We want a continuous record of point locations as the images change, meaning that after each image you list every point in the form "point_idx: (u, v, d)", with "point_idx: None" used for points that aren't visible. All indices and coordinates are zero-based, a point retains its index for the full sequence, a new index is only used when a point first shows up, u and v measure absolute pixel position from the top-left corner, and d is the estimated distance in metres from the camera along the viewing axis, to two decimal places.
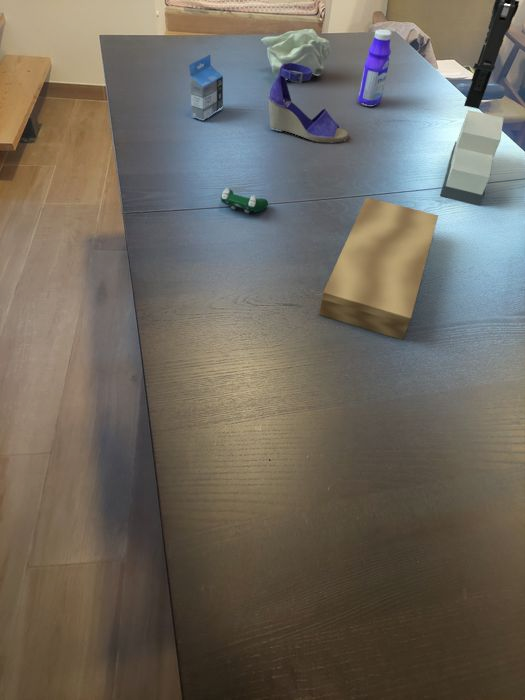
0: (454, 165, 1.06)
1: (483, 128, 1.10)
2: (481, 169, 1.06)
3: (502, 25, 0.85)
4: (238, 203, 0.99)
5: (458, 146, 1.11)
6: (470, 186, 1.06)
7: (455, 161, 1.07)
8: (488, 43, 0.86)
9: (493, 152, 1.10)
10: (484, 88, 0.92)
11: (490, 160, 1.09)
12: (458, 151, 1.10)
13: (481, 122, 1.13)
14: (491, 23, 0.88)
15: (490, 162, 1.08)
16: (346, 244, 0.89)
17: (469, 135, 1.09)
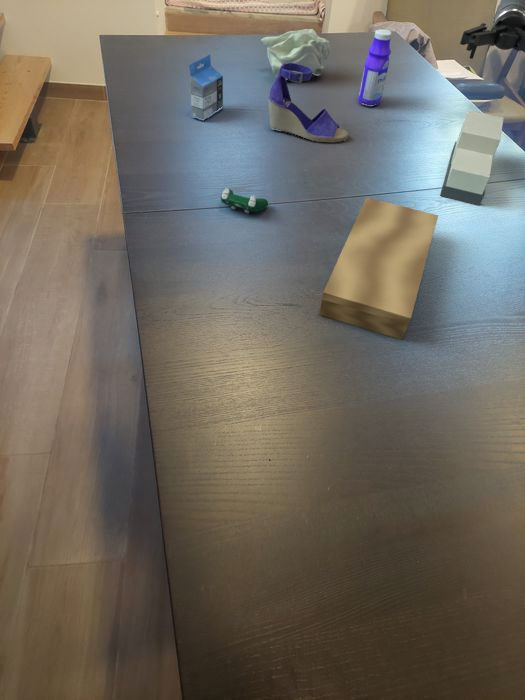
0: (454, 165, 1.06)
1: (483, 128, 1.10)
2: (481, 169, 1.06)
3: None
4: (238, 203, 0.99)
5: (458, 146, 1.11)
6: (470, 186, 1.06)
7: (455, 161, 1.07)
8: None
9: (493, 152, 1.10)
10: (474, 40, 1.13)
11: (490, 160, 1.08)
12: (458, 151, 1.10)
13: (481, 122, 1.13)
14: None
15: (490, 162, 1.08)
16: (346, 244, 0.89)
17: (469, 135, 1.09)
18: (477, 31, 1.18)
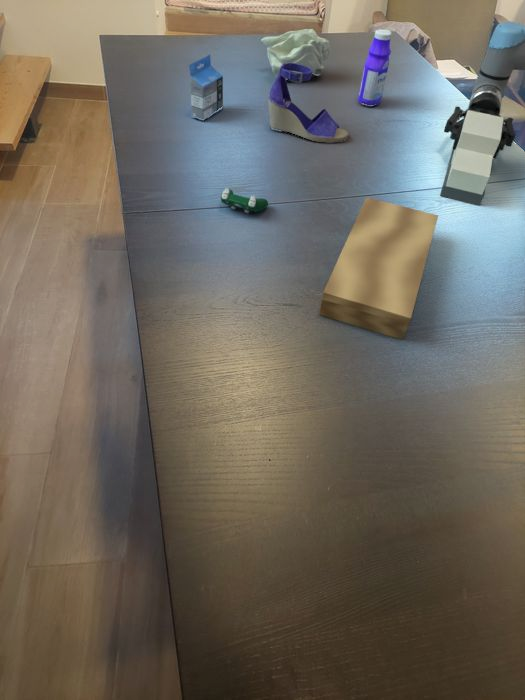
0: (454, 165, 1.06)
1: (483, 128, 1.10)
2: (481, 169, 1.06)
3: None
4: (238, 203, 0.99)
5: (458, 146, 1.11)
6: (470, 186, 1.06)
7: (455, 161, 1.07)
8: None
9: (493, 152, 1.10)
10: (457, 131, 1.14)
11: (490, 160, 1.09)
12: (458, 151, 1.10)
13: (481, 122, 1.13)
14: None
15: (490, 162, 1.08)
16: (346, 244, 0.89)
17: (469, 135, 1.09)
18: (456, 117, 1.20)
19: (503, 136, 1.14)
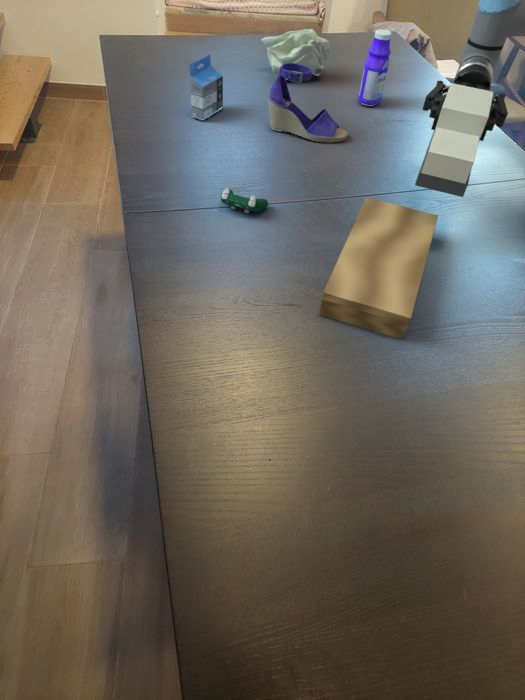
0: (431, 147, 0.87)
1: (468, 104, 0.91)
2: (464, 152, 0.86)
3: None
4: (238, 203, 0.99)
5: (438, 125, 0.92)
6: (451, 173, 0.87)
7: (433, 142, 0.88)
8: None
9: (480, 132, 0.90)
10: (437, 108, 0.95)
11: (476, 142, 0.89)
12: (437, 131, 0.91)
13: (466, 96, 0.93)
14: None
15: (476, 144, 0.88)
16: (346, 244, 0.89)
17: (451, 111, 0.89)
18: (438, 92, 1.00)
19: (493, 114, 0.95)
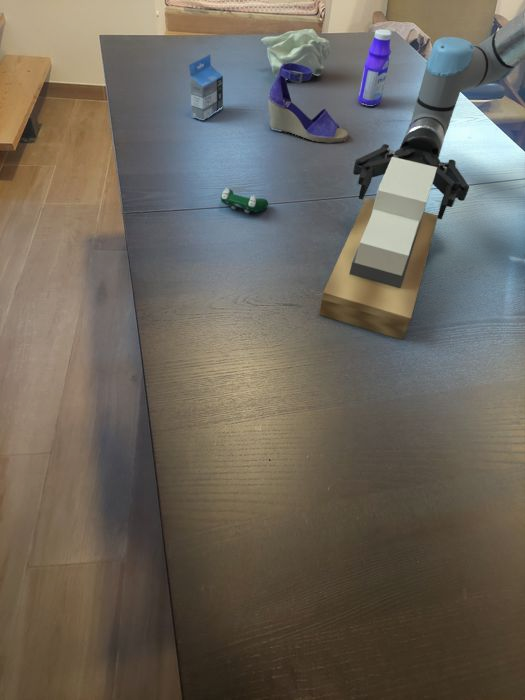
0: (364, 237, 0.79)
1: (407, 184, 0.84)
2: (399, 243, 0.79)
3: None
4: (238, 203, 0.99)
5: (374, 207, 0.84)
6: (385, 264, 0.80)
7: (366, 230, 0.80)
8: None
9: (419, 216, 0.83)
10: (366, 175, 0.88)
11: (414, 228, 0.82)
12: (373, 214, 0.83)
13: (406, 174, 0.86)
14: None
15: (414, 231, 0.81)
16: (346, 244, 0.89)
17: (387, 194, 0.82)
18: (375, 157, 0.93)
19: (454, 188, 0.87)
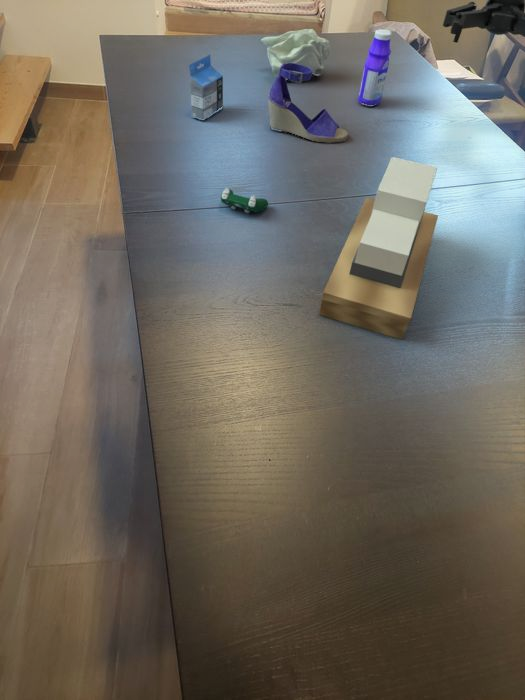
0: (364, 237, 0.79)
1: (407, 184, 0.84)
2: (399, 243, 0.79)
3: None
4: (238, 203, 0.99)
5: (374, 207, 0.84)
6: (385, 264, 0.80)
7: (366, 230, 0.80)
8: None
9: (419, 216, 0.83)
10: (460, 20, 0.91)
11: (414, 228, 0.82)
12: (373, 214, 0.83)
13: (406, 174, 0.86)
14: None
15: (414, 231, 0.81)
16: (346, 244, 0.89)
17: (387, 194, 0.82)
18: (464, 10, 0.96)
19: None
